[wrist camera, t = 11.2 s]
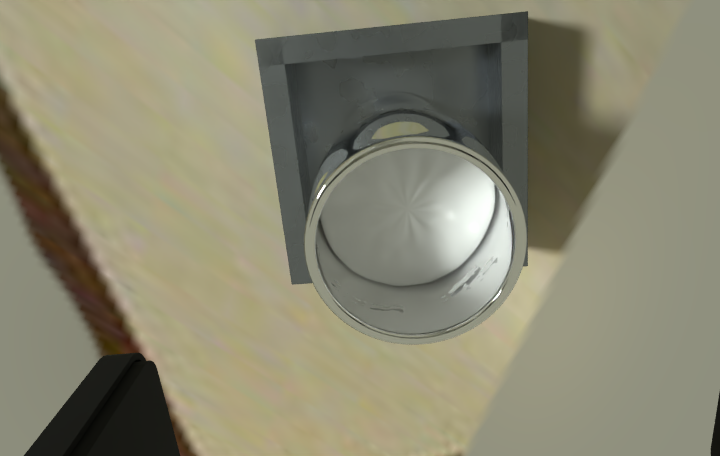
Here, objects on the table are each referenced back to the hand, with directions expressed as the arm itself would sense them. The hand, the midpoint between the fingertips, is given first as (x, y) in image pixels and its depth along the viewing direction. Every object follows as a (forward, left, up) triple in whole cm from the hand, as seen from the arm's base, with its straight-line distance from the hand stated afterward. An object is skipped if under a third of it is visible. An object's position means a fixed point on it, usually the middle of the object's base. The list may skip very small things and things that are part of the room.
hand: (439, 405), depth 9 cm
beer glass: (0, 0, -23) cm, 23 cm away
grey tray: (0, 0, -23) cm, 23 cm away
